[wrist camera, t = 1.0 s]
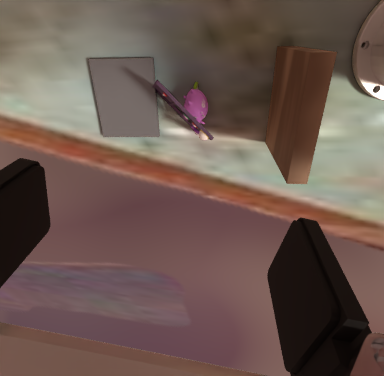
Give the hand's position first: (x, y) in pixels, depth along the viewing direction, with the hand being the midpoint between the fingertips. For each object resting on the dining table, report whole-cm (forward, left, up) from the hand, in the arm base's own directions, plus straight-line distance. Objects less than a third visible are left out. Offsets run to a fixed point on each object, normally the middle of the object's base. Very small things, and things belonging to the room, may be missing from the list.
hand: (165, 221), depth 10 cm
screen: (-11, +1, -28) cm, 30 cm away
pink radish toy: (+1, +1, -29) cm, 29 cm away
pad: (+9, +1, -28) cm, 30 cm away
